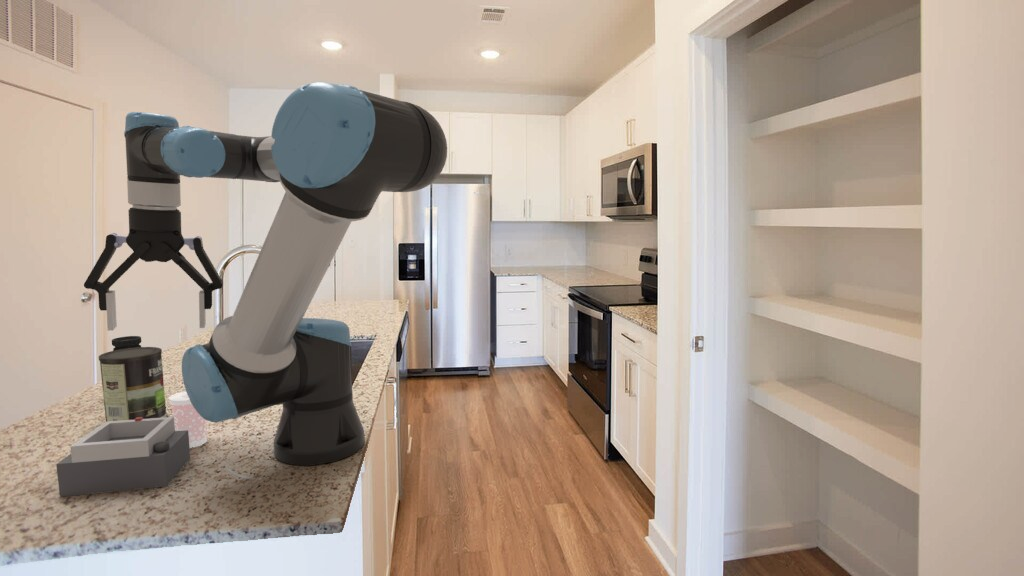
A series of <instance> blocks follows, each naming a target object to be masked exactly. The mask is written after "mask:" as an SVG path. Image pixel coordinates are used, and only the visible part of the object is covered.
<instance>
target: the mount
mask: <svg viewBox="0 0 1024 576" xmlns="http://www.w3.org/2000/svg"><path fill="white" fill-rule="evenodd" d="M69 447H70V454H68V455H66V457H64V458H62V459H61V460H59V462H57V463H56V464H55V465H56V474H57V482H58V483H57V484H58V491H59V492H58V493H59V498H62V497H70V496H71V497H72V496H80V495H82V496H83V495H91V494H102V493H112V492H122V491H123V492H124V491H135V490H144V489H154V488H164V487H168V485H170V483H171V482H172V480H173V479H174V478H175V477H176V476H177V475H178V474H179V472H180V471H181V470H182V469H183V468H184V467H185V465H186V464H187V463H188V461H190V460H191V448H190V447H189V434H188V430H183V431H175V424H174V417H173V416H169V417H168V416H166V417H164V418H150V419H143V417H137V418H135V420H122V421H108V422H106V421H104V422H103V423H102V424H100V425H99V426H98V427H96V428H95V429H93V430H92V431H91V432H89V433H87V434H86V435H84V436H83V437H82V438H81V439H79V440H77V441H76V442H75V443H73V444H72V445H70V446H69ZM183 466H184V467H183Z"/></svg>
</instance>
